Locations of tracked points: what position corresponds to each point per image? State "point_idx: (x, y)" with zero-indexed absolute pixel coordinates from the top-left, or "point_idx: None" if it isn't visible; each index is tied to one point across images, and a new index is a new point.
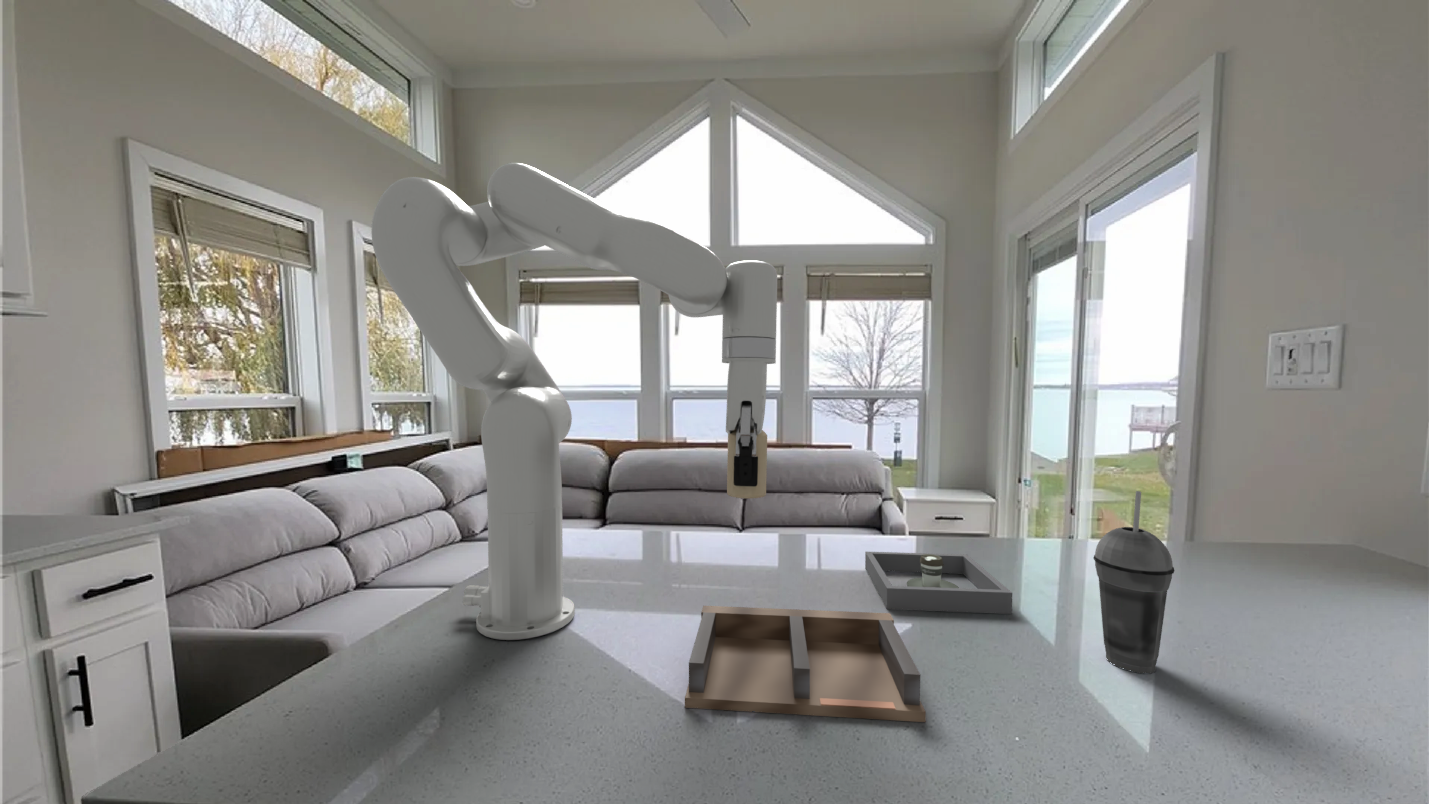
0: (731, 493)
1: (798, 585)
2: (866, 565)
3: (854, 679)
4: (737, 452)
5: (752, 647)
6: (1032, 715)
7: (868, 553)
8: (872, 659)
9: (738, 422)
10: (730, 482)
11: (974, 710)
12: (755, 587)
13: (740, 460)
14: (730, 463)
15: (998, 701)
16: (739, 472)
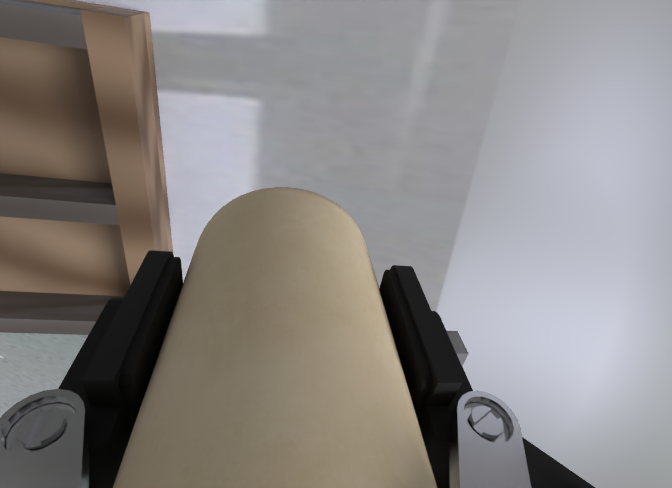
0: (224, 210)
1: (404, 227)
2: (450, 337)
3: (30, 252)
4: (3, 433)
5: (84, 118)
6: (51, 377)
7: (457, 355)
8: (99, 282)
9: None
10: (221, 234)
11: (40, 341)
12: (407, 148)
13: (64, 388)
14: (204, 306)
15: (69, 363)
16: (96, 321)
